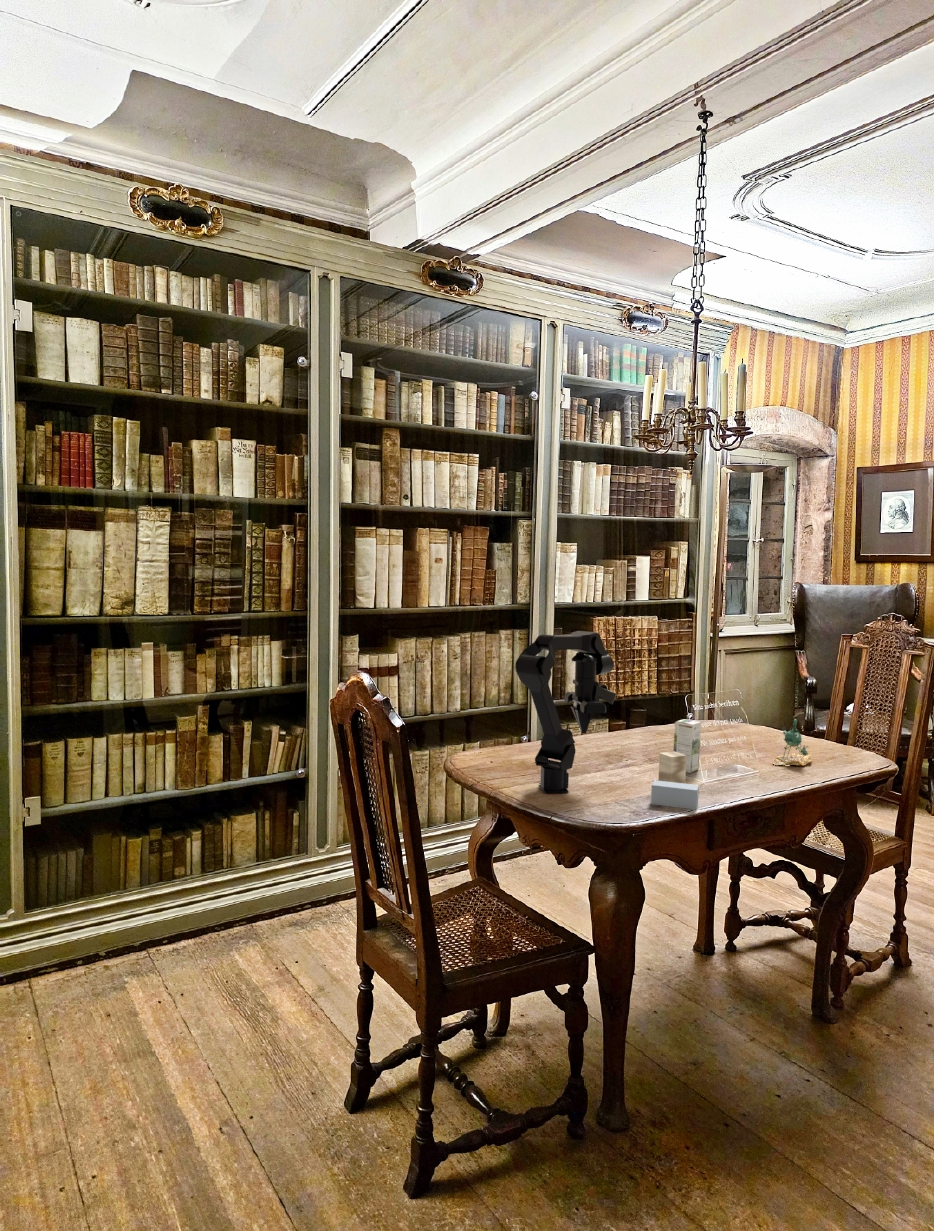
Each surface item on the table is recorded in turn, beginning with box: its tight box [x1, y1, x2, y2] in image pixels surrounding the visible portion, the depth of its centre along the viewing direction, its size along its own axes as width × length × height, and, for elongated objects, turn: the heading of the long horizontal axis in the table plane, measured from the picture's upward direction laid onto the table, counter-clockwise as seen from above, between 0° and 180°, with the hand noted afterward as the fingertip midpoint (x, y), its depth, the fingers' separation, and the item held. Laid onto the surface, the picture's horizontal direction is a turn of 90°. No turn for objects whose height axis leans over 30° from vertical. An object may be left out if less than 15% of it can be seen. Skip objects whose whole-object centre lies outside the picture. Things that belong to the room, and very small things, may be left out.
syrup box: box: [673, 718, 702, 774], centre depth 236 cm, size 6×6×14 cm
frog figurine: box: [772, 718, 812, 766], centre depth 247 cm, size 10×18×15 cm, turn 116°
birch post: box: [657, 750, 687, 784], centre depth 219 cm, size 5×5×9 cm
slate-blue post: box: [650, 780, 700, 810], centre depth 203 cm, size 5×5×11 cm
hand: (583, 733), depth 223 cm, fingers closed
